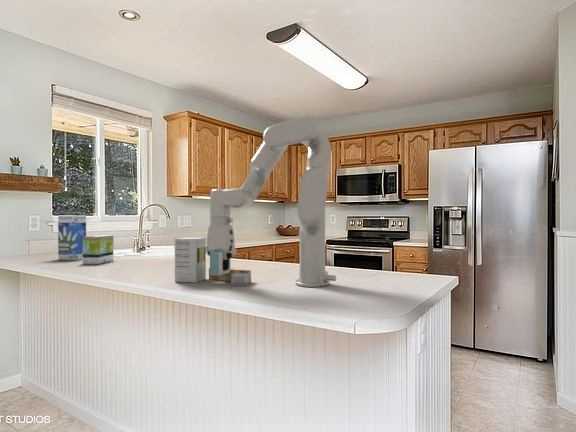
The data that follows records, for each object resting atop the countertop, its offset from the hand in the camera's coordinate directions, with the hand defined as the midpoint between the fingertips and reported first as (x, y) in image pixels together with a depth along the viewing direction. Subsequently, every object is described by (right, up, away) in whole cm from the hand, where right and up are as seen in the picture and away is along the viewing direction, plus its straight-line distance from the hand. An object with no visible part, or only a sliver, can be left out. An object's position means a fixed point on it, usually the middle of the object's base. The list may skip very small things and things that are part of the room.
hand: (220, 269), depth 146 cm
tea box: (-78, -6, +64) cm, 101 cm away
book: (0, -2, 0) cm, 2 cm away
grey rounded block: (+8, -6, -4) cm, 10 cm away
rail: (+3, -5, +4) cm, 7 cm away
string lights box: (-101, -5, +79) cm, 129 cm away
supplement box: (-13, -6, +6) cm, 15 cm away
